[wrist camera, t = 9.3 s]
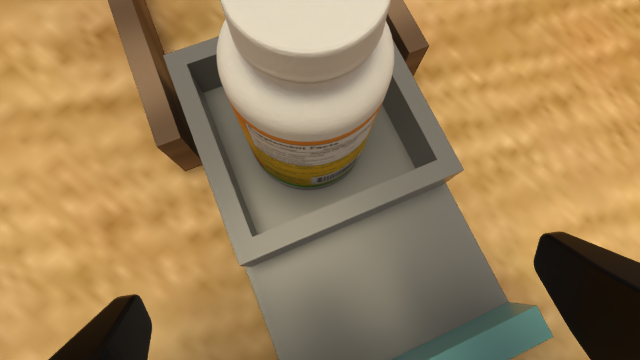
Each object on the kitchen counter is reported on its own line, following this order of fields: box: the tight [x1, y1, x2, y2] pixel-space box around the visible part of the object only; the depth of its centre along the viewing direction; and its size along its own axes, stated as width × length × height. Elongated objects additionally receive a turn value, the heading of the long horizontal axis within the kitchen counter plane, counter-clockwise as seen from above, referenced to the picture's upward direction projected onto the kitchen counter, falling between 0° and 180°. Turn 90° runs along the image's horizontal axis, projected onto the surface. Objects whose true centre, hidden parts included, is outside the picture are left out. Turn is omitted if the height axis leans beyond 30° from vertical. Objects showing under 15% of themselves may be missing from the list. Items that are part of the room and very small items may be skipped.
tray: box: [163, 36, 553, 360], centre depth 16 cm, size 17×10×4 cm, turn 23°
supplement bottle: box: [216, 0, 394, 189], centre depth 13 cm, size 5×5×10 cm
